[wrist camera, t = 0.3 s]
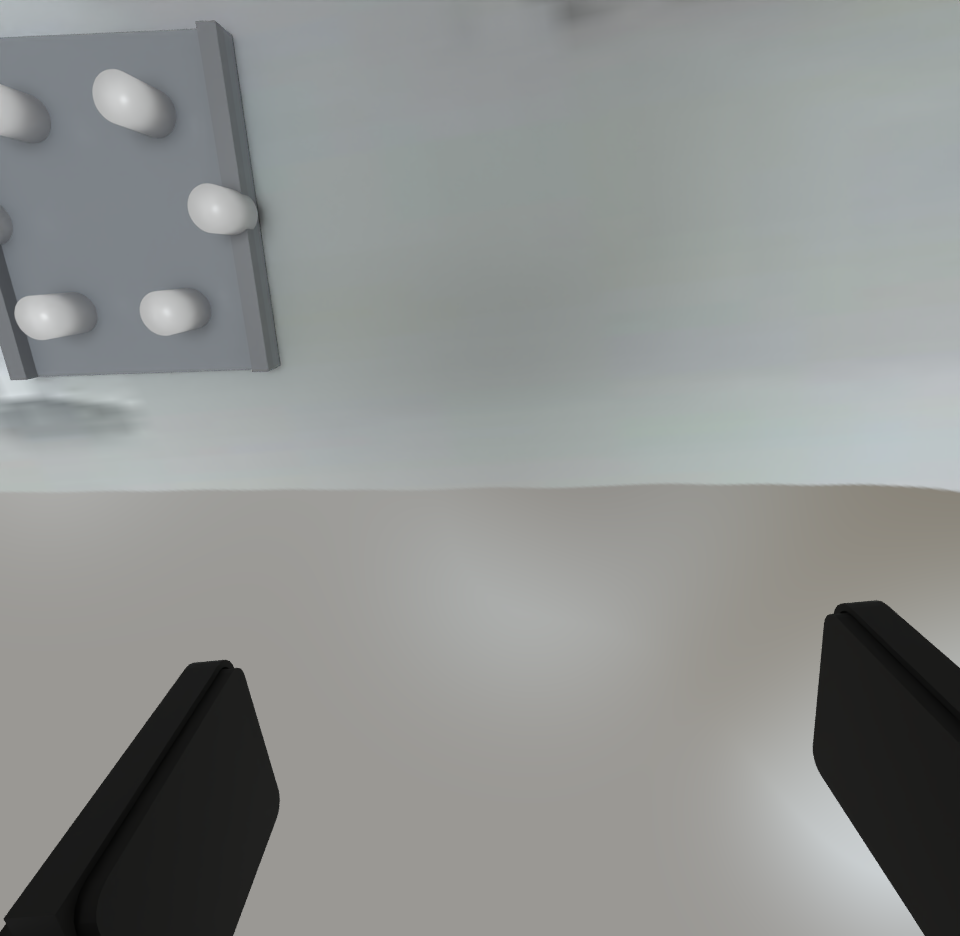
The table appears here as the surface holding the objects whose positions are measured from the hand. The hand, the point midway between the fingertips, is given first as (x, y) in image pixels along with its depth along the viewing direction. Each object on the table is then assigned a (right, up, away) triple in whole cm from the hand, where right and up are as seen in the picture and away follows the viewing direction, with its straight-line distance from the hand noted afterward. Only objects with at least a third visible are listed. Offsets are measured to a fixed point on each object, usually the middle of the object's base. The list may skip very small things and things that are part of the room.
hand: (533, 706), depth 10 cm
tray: (-22, +19, +26) cm, 39 cm away
